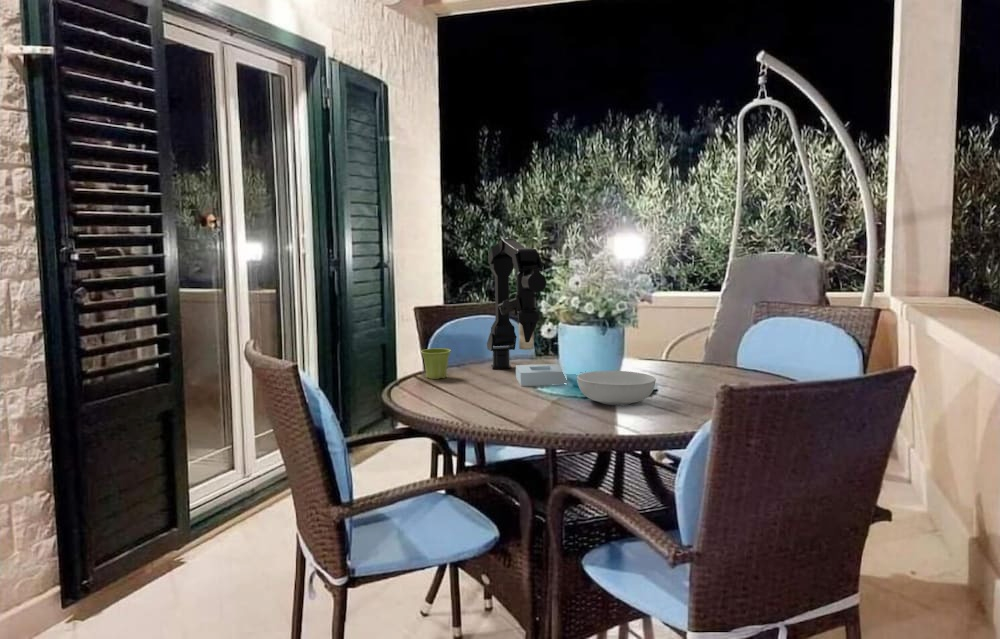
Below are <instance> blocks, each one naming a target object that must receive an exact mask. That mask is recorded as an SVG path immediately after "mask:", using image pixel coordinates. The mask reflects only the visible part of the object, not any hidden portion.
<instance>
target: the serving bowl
mask: <svg viewBox="0 0 1000 639" xmlns="http://www.w3.org/2000/svg"><path fill="white" fill-rule="evenodd" d="M576 381H577V385H578V386H577V387H578V388H579V390H580V392H581V393H582V394H583V395H584V396H585V397H586V398H588V399H590V400H591V401H595V402H597V403H601V404H603V405H610V406H627V405H631V404H634V403H638V402H642V401H644V400H646V398H648V397H650V396H651V394H652V393H653V391H654V389H655V386H656V382H657V381H656V378H655V376H653V375H650V374H648V373H647V374H646V373H642V372H636V371H629V370H595V371H588V372H581V373H579V374H578V375H577V376H576Z"/></svg>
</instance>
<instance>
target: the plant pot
mask: <svg viewBox="0 0 1000 639" xmlns="http://www.w3.org/2000/svg"><path fill="white" fill-rule="evenodd" d="M451 351H452V350H451V349H449V348H440V347H439V348H427V349H422V350H421V351H420V353H421V354H422V358H423V362H424V366H425V368H424V369H425V374H426V378H428V379H429V380H439V379H445V378H447V372H448V362H449V357H450V353H451Z"/></svg>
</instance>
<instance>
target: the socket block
mask: <svg viewBox="0 0 1000 639" xmlns="http://www.w3.org/2000/svg"><path fill="white" fill-rule="evenodd" d="M560 365H561V364H560V363H553V364H551V363H550V364H548V363H545V364H542V363H541V364H516V365H515V378H516V380H517V382H518V384H519V385H520V387H534V386H535V387H537V386H539V387H540V385H544V386H553V385H552V384H564V383H567V384H568V379H567V380H566V378H565V376H564V374H563V372H562V369H561V367H560Z"/></svg>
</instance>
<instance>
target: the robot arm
mask: <svg viewBox="0 0 1000 639" xmlns="http://www.w3.org/2000/svg"><path fill="white" fill-rule="evenodd" d="M487 261H488V264H489V270H490V271H491V273H492V275H493V276H494V296H495V297H494V299H495V300H494V302H495V305H494V306H495V307H494V308H495V320H494V322H493V323H492V324H491V327H490V333H489V336H488V339H487V342H486V349H487V350H488V351H490V352H492V364H490V368H491V369H492V370H505V369H510V370H511V369H512V366H511V363H510V356H511V355H510V351H511V350H513V351H515V349H516V343H517V337H518V336H517V334H516V332H515V329H516V328H515V326H514V325H513V323H512V322H511V320H510V313H512V312H513V315H514V316H515V319H516V321H517V322H518V324H519V323H520V324H521V325H522V327H523V332H524V337H525V342H529V341H530V339H531V336H532V334H533V331H535V328H536V326H537V323H538V322H539V321H540V316H541V315H540V313H539V312H538V311H537V307H536V305H537V304H536V303H537V302H536V300H537V293H540V292H543V291H544V290H545V288H546V286H547V279H546V277H545V275H544V274H542V273H541V272H543V271H544V269H543V268H544V264H543V261H542V259H541V256H540V253H539V252H538V249H537V248H533V247H524V245H522V244H520V243H519V242H517V240H516V239H514V238H502V239H499V241H498V243H496V245H494V246H492V248H490V251H489V252H488V257H487ZM514 269H515V271H516V272H515V275H516V293H515V294H514V298H512V299H510V287H509V286H510V275H511V274H512V272H513V270H514Z"/></svg>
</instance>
